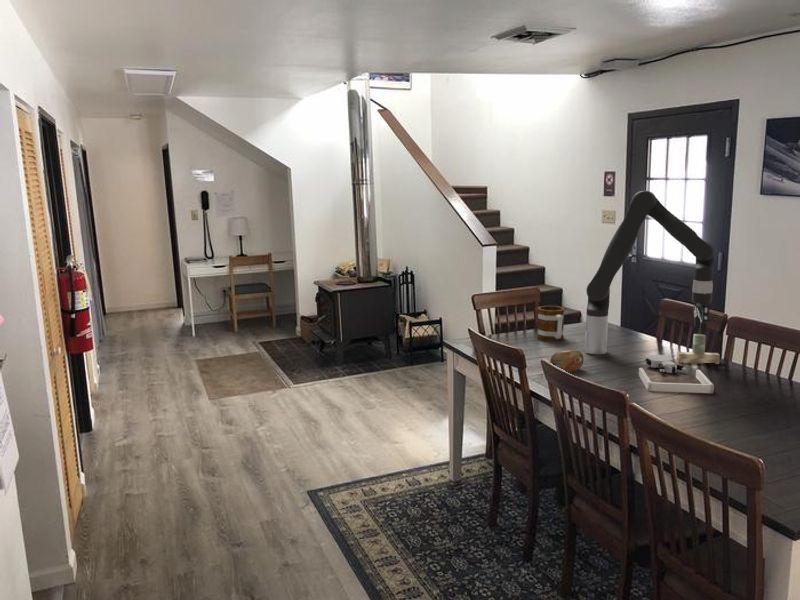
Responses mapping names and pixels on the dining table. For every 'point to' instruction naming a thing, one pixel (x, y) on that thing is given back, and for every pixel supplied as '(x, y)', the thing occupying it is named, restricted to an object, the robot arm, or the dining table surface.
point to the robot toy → (663, 363)
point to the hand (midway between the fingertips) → (700, 329)
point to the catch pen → (678, 384)
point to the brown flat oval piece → (567, 360)
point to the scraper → (698, 352)
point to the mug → (550, 323)
